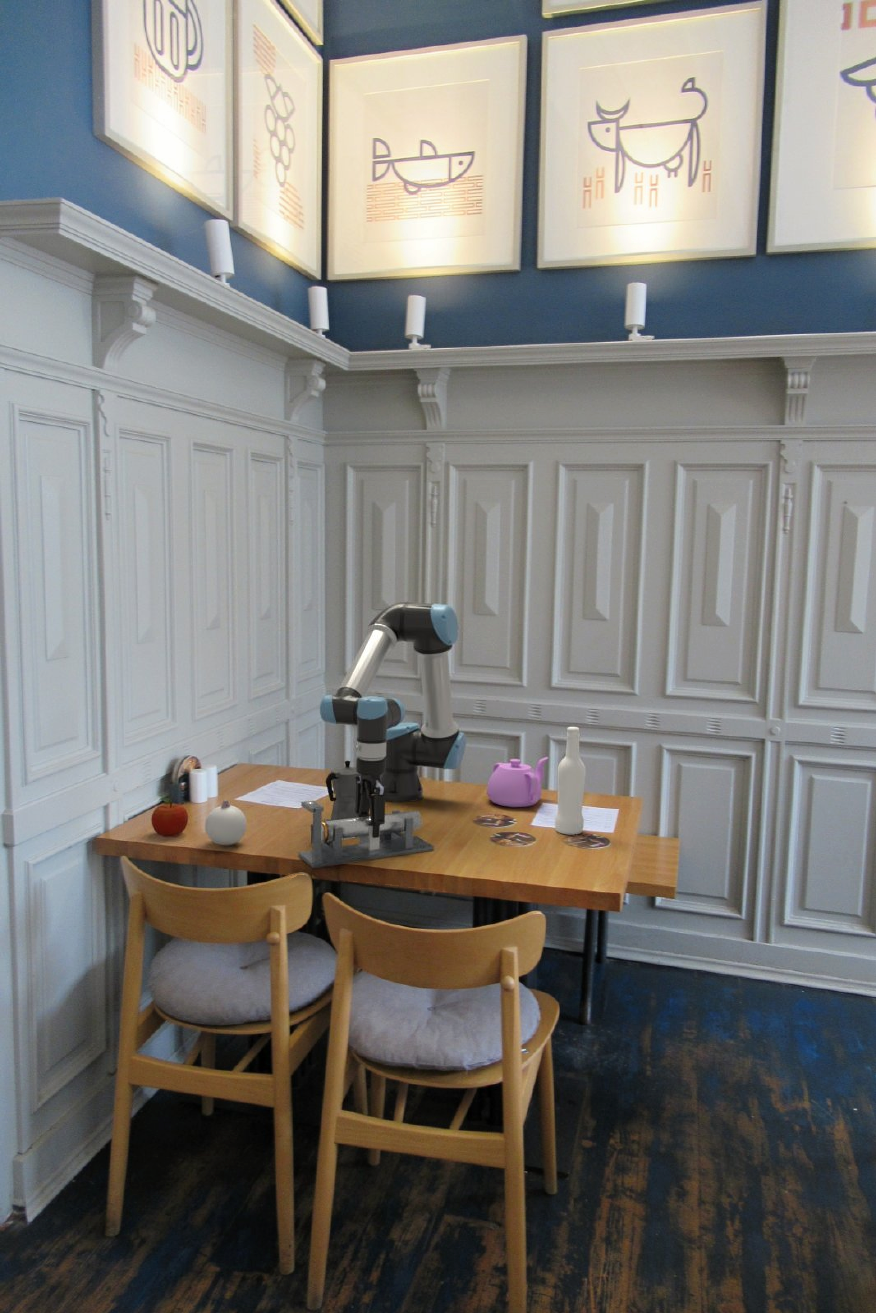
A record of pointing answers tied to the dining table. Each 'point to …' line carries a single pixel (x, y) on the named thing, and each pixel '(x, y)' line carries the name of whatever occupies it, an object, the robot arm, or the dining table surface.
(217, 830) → the ornament
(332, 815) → the coffeepot
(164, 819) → the fruit
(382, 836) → the rest chocks
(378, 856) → the grey tube stand
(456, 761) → the robot arm
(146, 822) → the dining table surface
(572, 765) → the bottle
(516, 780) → the teapot
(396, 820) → the tube
